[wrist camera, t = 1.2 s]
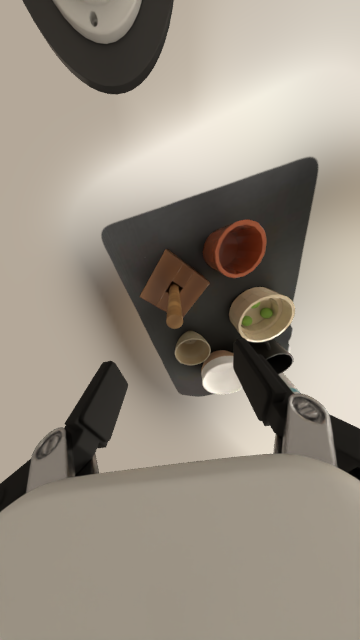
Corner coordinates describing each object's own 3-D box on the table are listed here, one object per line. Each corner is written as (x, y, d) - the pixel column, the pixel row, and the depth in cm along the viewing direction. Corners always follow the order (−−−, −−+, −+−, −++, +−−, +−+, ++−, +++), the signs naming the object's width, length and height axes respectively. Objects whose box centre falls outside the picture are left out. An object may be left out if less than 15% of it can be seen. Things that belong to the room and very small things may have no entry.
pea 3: (255, 312, 37) (261, 317, 34) (264, 304, 36) (271, 308, 33) (261, 317, 38) (268, 322, 35) (270, 309, 37) (277, 314, 34)
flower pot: (181, 352, 45) (183, 369, 38) (169, 331, 40) (168, 346, 34) (209, 342, 43) (214, 358, 37) (199, 319, 38) (204, 333, 32)
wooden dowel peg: (168, 282, 32) (162, 323, 15) (172, 276, 32) (171, 310, 14) (175, 287, 33) (177, 331, 16) (179, 281, 32) (187, 320, 15)
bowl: (203, 378, 52) (207, 398, 46) (193, 351, 45) (196, 370, 38) (242, 369, 51) (253, 388, 44) (238, 339, 43) (251, 356, 36)
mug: (269, 323, 40) (293, 341, 32) (273, 348, 46) (294, 369, 38) (240, 334, 42) (255, 354, 34) (247, 357, 47) (262, 379, 40)
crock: (195, 255, 30) (205, 258, 21) (220, 219, 26) (242, 205, 18) (221, 275, 32) (238, 286, 24) (246, 244, 29) (276, 244, 20)
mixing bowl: (218, 314, 38) (227, 327, 32) (254, 276, 33) (272, 282, 27) (248, 334, 42) (260, 349, 36) (284, 302, 37) (305, 314, 31)
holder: (145, 287, 33) (139, 296, 27) (167, 248, 29) (165, 249, 23) (179, 308, 36) (180, 320, 30) (203, 276, 32) (210, 282, 26)
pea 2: (242, 302, 35) (248, 306, 33) (251, 293, 34) (257, 297, 31) (249, 307, 36) (255, 312, 34) (258, 299, 35) (265, 303, 32)
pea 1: (236, 319, 38) (241, 324, 35) (244, 312, 37) (249, 317, 34) (243, 324, 39) (248, 329, 36) (251, 317, 38) (256, 322, 35)
